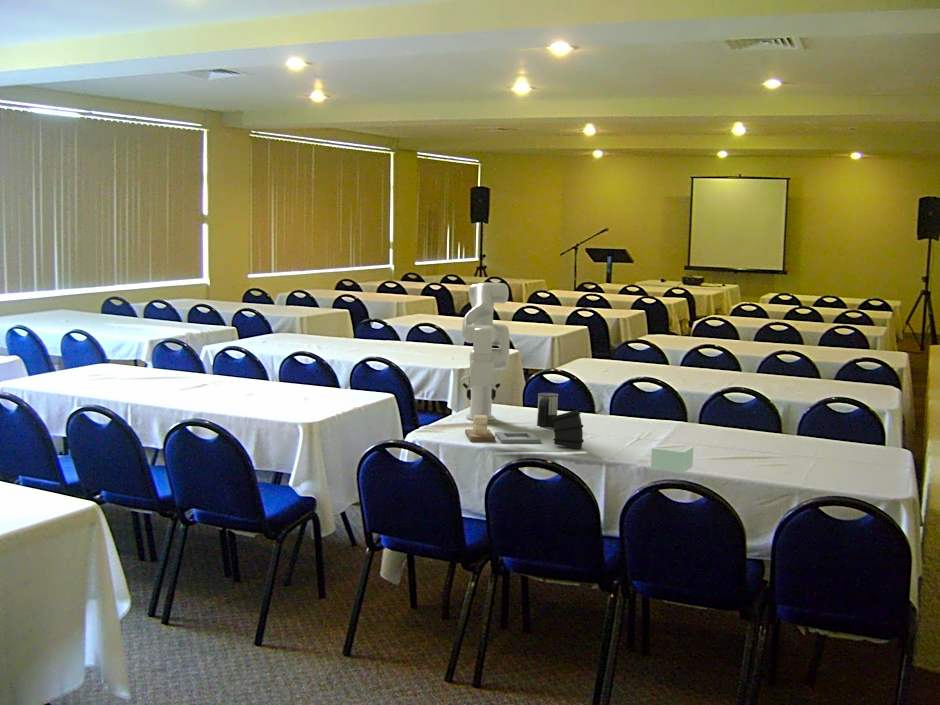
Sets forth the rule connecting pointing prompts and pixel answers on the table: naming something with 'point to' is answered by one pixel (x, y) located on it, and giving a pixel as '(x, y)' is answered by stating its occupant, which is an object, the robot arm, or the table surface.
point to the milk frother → (547, 409)
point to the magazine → (568, 430)
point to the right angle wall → (672, 459)
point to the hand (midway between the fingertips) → (481, 399)
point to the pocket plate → (531, 438)
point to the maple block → (480, 424)
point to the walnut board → (479, 436)
